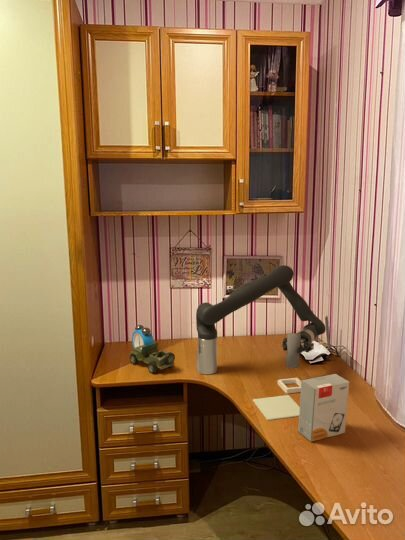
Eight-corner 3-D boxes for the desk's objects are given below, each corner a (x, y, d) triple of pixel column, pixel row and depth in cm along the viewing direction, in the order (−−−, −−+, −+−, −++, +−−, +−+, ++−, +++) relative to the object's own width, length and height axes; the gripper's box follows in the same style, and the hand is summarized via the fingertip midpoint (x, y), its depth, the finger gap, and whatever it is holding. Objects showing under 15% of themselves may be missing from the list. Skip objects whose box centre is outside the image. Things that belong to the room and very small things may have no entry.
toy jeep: (147, 356, 221) (146, 336, 219) (178, 370, 204) (178, 348, 202) (128, 362, 213) (127, 342, 211) (158, 377, 196) (158, 355, 194)
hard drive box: (310, 443, 144) (313, 389, 141) (297, 431, 151) (299, 380, 147) (346, 433, 150) (349, 381, 147) (331, 422, 157) (334, 372, 154)
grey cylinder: (289, 368, 180) (291, 337, 178) (283, 363, 185) (285, 333, 183) (301, 367, 181) (302, 336, 179) (295, 362, 187) (297, 332, 184)
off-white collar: (286, 393, 180) (286, 389, 179) (277, 383, 189) (277, 379, 188) (306, 391, 182) (307, 386, 181) (297, 381, 191) (297, 377, 191)
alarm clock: (132, 351, 228) (131, 324, 225) (141, 348, 232) (141, 322, 229) (144, 358, 218) (144, 330, 215) (154, 355, 222) (154, 328, 219)
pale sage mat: (267, 420, 158) (267, 419, 158) (252, 400, 174) (252, 399, 174) (306, 415, 162) (306, 414, 162) (288, 396, 177) (288, 395, 177)
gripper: (289, 328, 197) (275, 338, 183) (319, 333, 190) (308, 345, 175) (288, 343, 198) (275, 355, 184) (318, 349, 191) (307, 362, 177)
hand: (291, 350), depth 180 cm, fingers closed on grey cylinder, 5 cm apart
